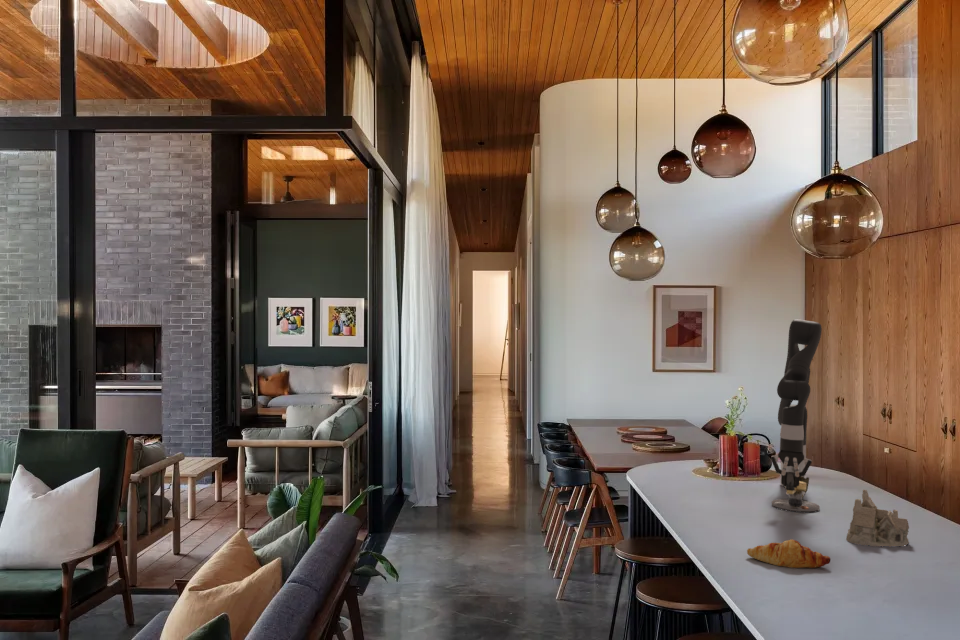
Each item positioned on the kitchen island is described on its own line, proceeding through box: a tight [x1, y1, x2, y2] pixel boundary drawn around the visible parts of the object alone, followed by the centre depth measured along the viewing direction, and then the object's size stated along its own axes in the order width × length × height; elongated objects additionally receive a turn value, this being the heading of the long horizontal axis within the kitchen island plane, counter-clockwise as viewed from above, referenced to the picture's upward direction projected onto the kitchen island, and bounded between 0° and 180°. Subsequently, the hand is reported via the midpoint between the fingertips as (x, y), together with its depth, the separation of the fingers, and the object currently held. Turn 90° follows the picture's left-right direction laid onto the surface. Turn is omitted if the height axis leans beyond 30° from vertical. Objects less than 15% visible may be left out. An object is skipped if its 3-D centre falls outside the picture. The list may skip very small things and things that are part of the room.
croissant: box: [746, 538, 831, 569], centre depth 207 cm, size 21×10×8 cm, turn 67°
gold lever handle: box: [784, 472, 806, 495], centre depth 270 cm, size 15×7×8 cm, turn 147°
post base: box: [771, 490, 821, 513], centre depth 273 cm, size 16×16×6 cm
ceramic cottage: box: [845, 489, 910, 547], centre depth 231 cm, size 16×16×15 cm
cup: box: [799, 476, 810, 499], centre depth 288 cm, size 8×7×8 cm
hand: (790, 486), depth 265 cm, fingers closed on gold lever handle, 3 cm apart
